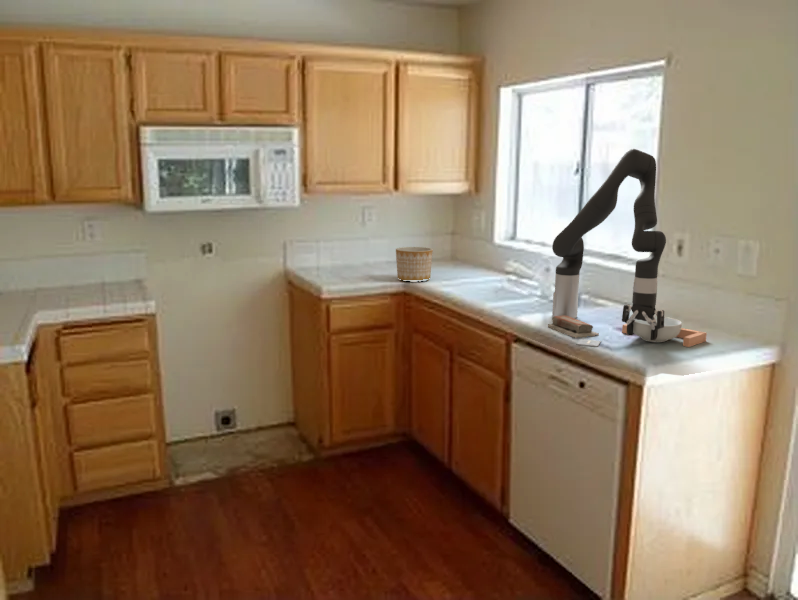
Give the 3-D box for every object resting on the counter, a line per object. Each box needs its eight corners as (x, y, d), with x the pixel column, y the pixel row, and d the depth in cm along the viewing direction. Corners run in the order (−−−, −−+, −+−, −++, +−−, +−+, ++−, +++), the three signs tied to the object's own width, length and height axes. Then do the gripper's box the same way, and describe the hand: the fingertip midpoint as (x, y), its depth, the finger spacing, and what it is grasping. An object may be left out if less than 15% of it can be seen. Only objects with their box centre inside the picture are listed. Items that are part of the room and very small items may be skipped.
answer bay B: (688, 347, 226) (689, 338, 225) (622, 332, 245) (622, 324, 244) (705, 341, 233) (706, 332, 233) (640, 328, 252) (640, 319, 252)
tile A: (576, 344, 228) (576, 343, 228) (580, 339, 235) (580, 338, 235) (597, 347, 226) (597, 345, 225) (600, 342, 232) (601, 340, 232)
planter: (392, 277, 364) (392, 247, 360) (427, 276, 367) (428, 246, 364) (399, 283, 345) (399, 251, 342) (436, 282, 348) (436, 250, 345)
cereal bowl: (662, 348, 224) (663, 327, 222) (619, 338, 237) (620, 318, 235) (690, 340, 234) (691, 320, 232) (647, 331, 247) (648, 312, 245)
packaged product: (547, 315, 253) (570, 313, 256) (546, 328, 254) (569, 326, 257) (576, 325, 236) (599, 323, 240) (575, 339, 237) (599, 337, 241)
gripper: (670, 292, 223) (666, 340, 227) (632, 286, 234) (628, 332, 237) (658, 294, 219) (654, 343, 222) (619, 288, 229) (616, 335, 233)
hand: (641, 337), depth 230 cm, fingers open, 8 cm apart
